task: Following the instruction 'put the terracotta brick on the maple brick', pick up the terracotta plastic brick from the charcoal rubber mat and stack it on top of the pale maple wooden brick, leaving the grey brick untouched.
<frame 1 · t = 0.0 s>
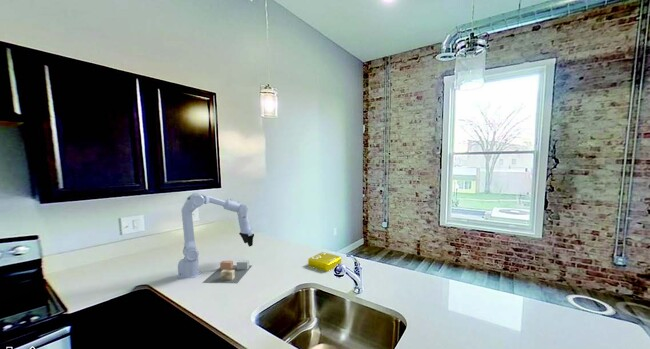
hand: (248, 244, 157), 11 cm above the counter, tool pointing down, fingers open, 7 cm apart
grey brick: (243, 268, 146), resting on charcoal mat
charcoal mat: (229, 274, 139), on the counter
maple brick: (227, 278, 133), resting on charcoal mat
terracotta brick: (226, 268, 145), resting on charcoal mat
element tile: (324, 265, 151), on the counter
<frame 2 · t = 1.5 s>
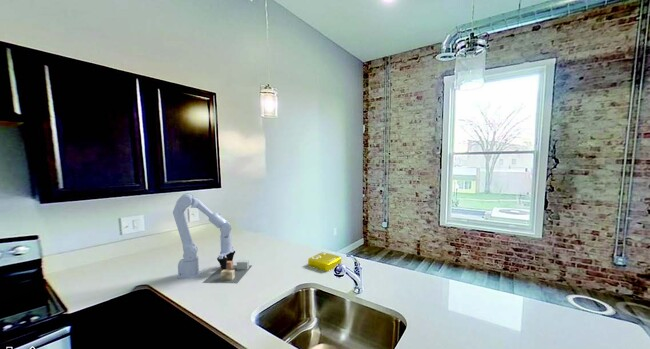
hand: (226, 266, 145), 2 cm above the counter, tool pointing down, fingers open, 7 cm apart
nothing on the counter moved.
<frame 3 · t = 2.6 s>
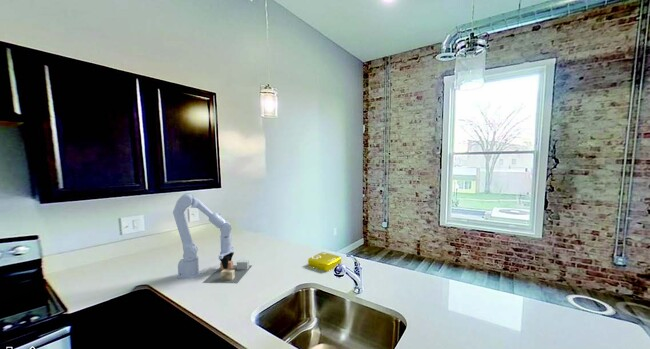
hand: (226, 267, 145), 2 cm above the counter, tool pointing down, fingers closed on terracotta brick, 3 cm apart
terracotta brick: (226, 268, 145), resting on charcoal mat, touching gripper
everything else where it was.
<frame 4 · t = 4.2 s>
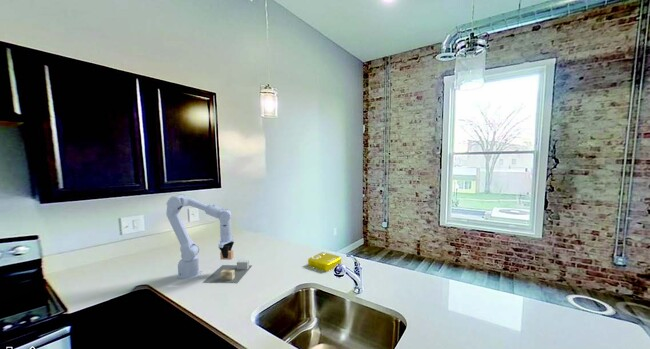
hand: (226, 256, 141), 9 cm above the counter, tool pointing down, fingers closed on terracotta brick, 3 cm apart
terracotta brick: (227, 258, 141), point 8 cm above the counter, touching gripper
everything else where it was.
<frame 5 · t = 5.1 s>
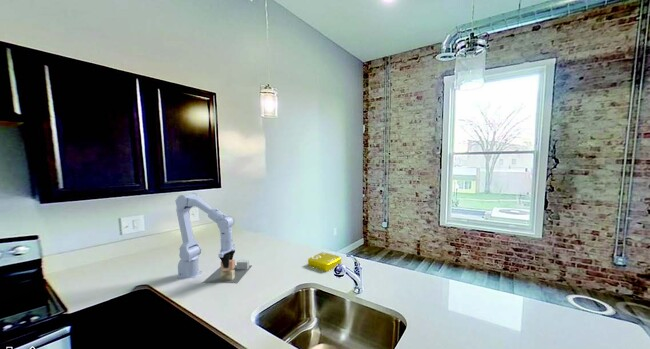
hand: (227, 266, 133), 7 cm above the counter, tool pointing down, fingers closed on terracotta brick, 3 cm apart
terracotta brick: (228, 268, 133), point 6 cm above the counter, touching gripper
everything else where it was.
when the fingers open (6 cm above the counter, at t = 5.9 s): terracotta brick stays where it is, resting on maple brick.
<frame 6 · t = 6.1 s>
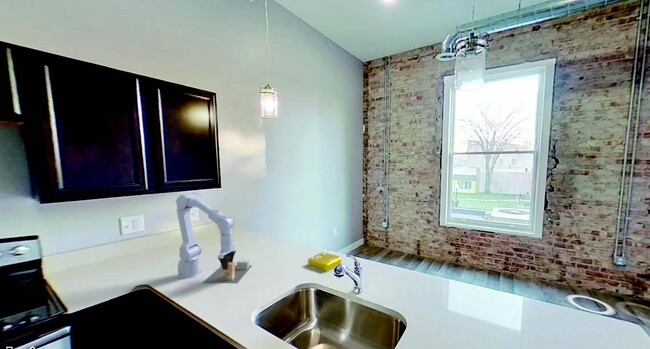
hand: (227, 267, 133), 7 cm above the counter, tool pointing down, fingers open, 5 cm apart
maple brick: (227, 278, 133), resting on charcoal mat, touching terracotta brick
terracotta brick: (227, 270, 133), point 4 cm above the counter, touching maple brick
everything else where it was.
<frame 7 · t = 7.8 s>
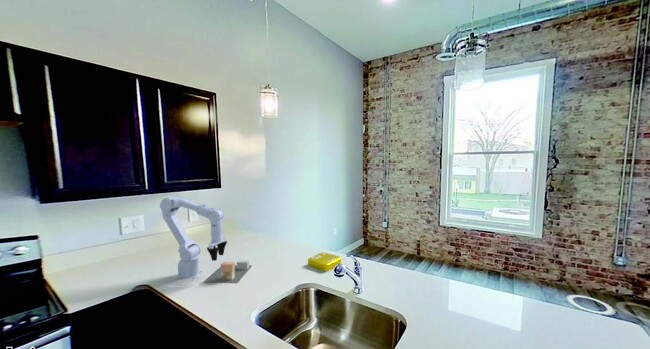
hand: (217, 257, 137), 10 cm above the counter, tool pointing down, fingers open, 7 cm apart
nothing on the counter moved.
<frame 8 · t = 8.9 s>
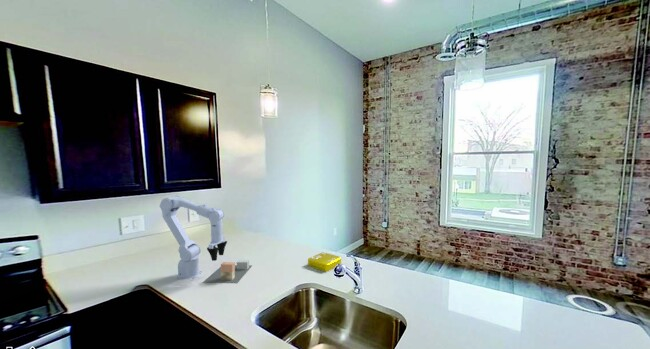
hand: (217, 257, 137), 10 cm above the counter, tool pointing down, fingers open, 7 cm apart
nothing on the counter moved.
at the end: terracotta brick 0.2 cm off-centre on the maple brick, point 4.0 cm above the maple brick's base; grey brick moved 0.0 cm from its start; maple brick moved 0.0 cm from its start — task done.
